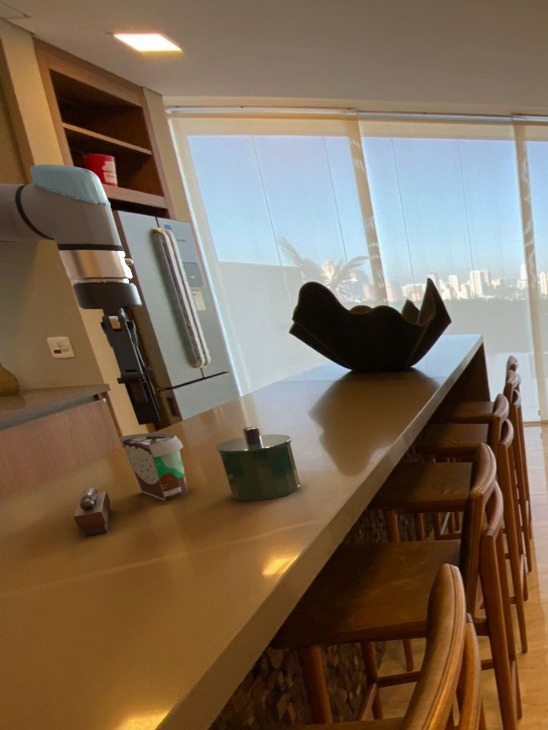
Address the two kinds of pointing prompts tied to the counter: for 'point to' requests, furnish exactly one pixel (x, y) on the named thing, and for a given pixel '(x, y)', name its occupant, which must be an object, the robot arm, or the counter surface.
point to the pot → (261, 474)
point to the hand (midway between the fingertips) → (150, 417)
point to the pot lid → (253, 442)
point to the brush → (93, 512)
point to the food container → (156, 464)
